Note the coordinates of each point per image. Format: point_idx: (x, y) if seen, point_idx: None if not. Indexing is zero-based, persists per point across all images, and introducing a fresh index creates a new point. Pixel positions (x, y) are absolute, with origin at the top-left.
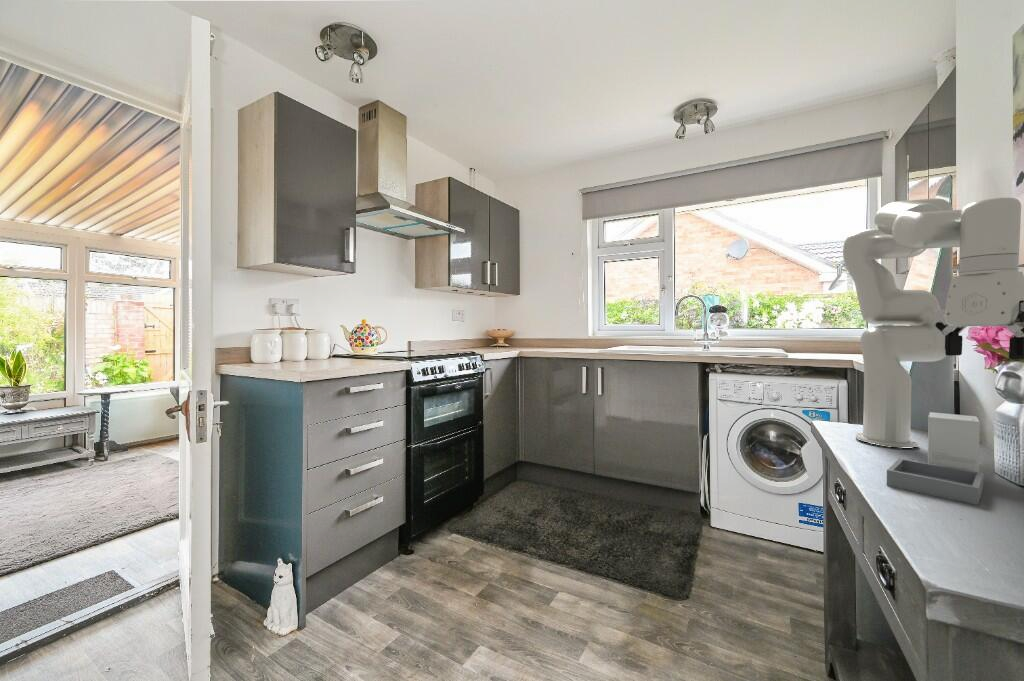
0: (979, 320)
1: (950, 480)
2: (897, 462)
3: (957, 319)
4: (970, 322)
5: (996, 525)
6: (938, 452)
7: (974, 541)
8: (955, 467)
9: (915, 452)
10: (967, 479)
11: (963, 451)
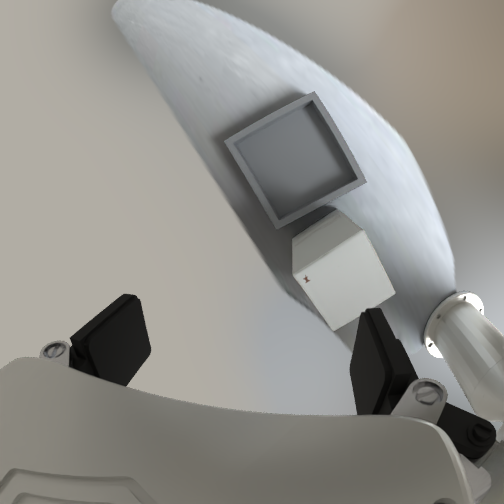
0: (109, 415)
1: (300, 197)
2: (347, 151)
3: (331, 467)
4: (194, 424)
5: (181, 100)
6: (334, 221)
7: (161, 47)
8: (313, 228)
9: (415, 318)
10: (288, 213)
11: (307, 241)
